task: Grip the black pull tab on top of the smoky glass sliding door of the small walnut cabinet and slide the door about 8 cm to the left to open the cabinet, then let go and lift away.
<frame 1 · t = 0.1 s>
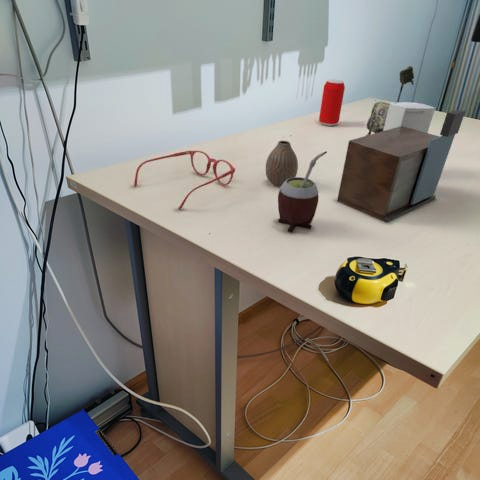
cabinet: (384, 199, 88), on the table
cosmetic box: (393, 172, 102), on the table
red eyeglasses: (186, 188, 89), on the table
beverage can: (328, 124, 132), on the table
camouflage trail camera: (380, 154, 112), on the table
sliding door: (435, 158, 81), point 9 cm above the table, slide at 0.0 cm
mate gourd: (296, 226, 78), on the table
vase: (279, 184, 93), on the table
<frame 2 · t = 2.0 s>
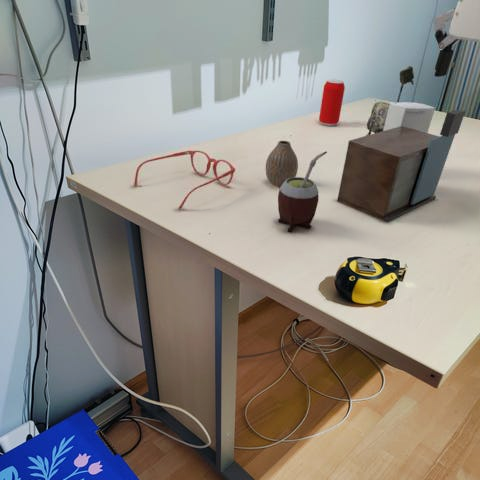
hand: (465, 81, 74), 22 cm above the table, tool pointing down, fingers open, 9 cm apart
nothing on the table moved.
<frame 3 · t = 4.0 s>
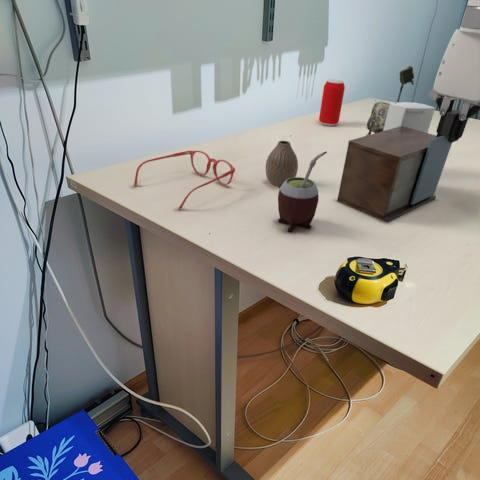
hand: (447, 138, 80), 13 cm above the table, tool pointing down, fingers closed on sliding door
sliding door: (435, 158, 81), point 9 cm above the table, slide at 0.0 cm, touching gripper
everything else where it was.
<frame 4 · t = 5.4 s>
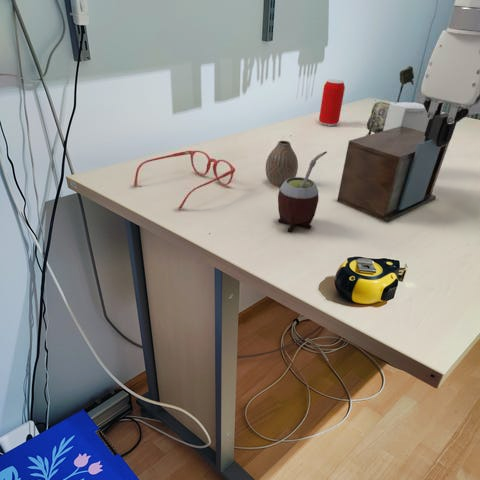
hand: (435, 142, 78), 13 cm above the table, tool pointing down, fingers closed on sliding door
sliding door: (424, 163, 79), point 9 cm above the table, slide at 4.4 cm, touching gripper
everything else where it was.
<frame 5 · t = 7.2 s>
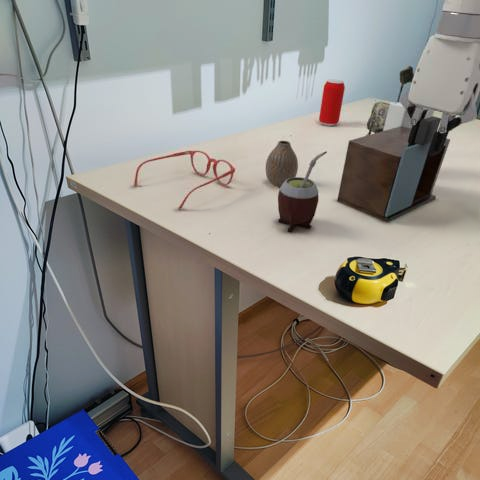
hand: (423, 150, 76), 12 cm above the table, tool pointing down, fingers open, 3 cm apart
sliding door: (410, 168, 76), point 9 cm above the table, slide at 9.0 cm
everything else where it was.
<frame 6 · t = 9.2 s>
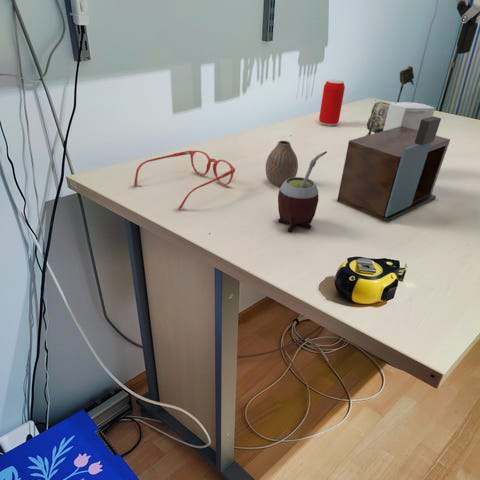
nothing on the table moved.
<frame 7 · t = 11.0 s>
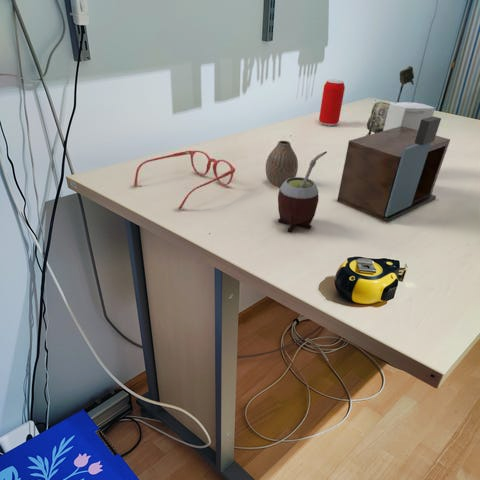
nothing on the table moved.
at the end: sliding door slide at 9.0 cm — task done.
